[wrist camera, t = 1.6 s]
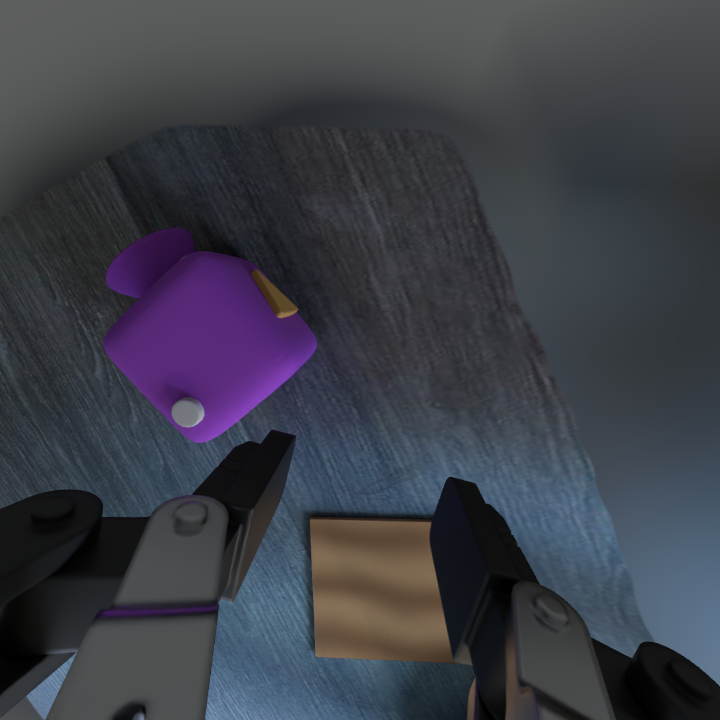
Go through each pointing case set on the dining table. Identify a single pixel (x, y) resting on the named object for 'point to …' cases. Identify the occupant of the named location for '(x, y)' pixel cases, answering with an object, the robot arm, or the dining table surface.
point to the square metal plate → (376, 590)
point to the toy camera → (202, 332)
